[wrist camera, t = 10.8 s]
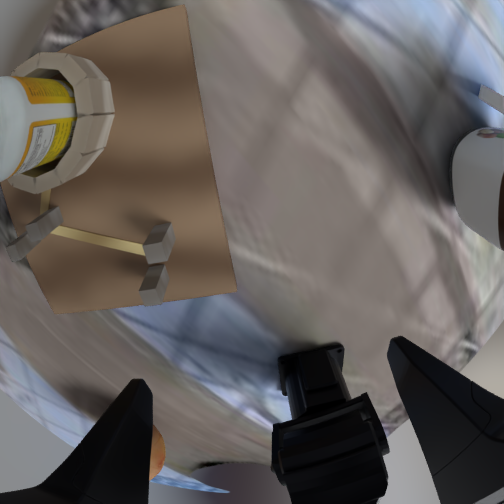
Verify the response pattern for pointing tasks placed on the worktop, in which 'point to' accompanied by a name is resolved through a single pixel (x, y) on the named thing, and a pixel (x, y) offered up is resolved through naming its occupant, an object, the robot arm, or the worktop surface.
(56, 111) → the supplement bottle
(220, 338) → the worktop surface
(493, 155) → the spread jar
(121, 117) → the board
